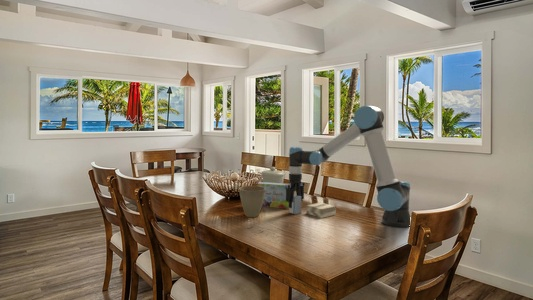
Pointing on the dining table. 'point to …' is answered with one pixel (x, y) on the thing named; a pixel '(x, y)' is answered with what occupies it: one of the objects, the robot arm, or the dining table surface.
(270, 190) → the snack box
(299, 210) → the slate-blue block
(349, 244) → the dining table surface
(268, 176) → the canister
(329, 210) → the maple riser
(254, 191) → the plant pot
